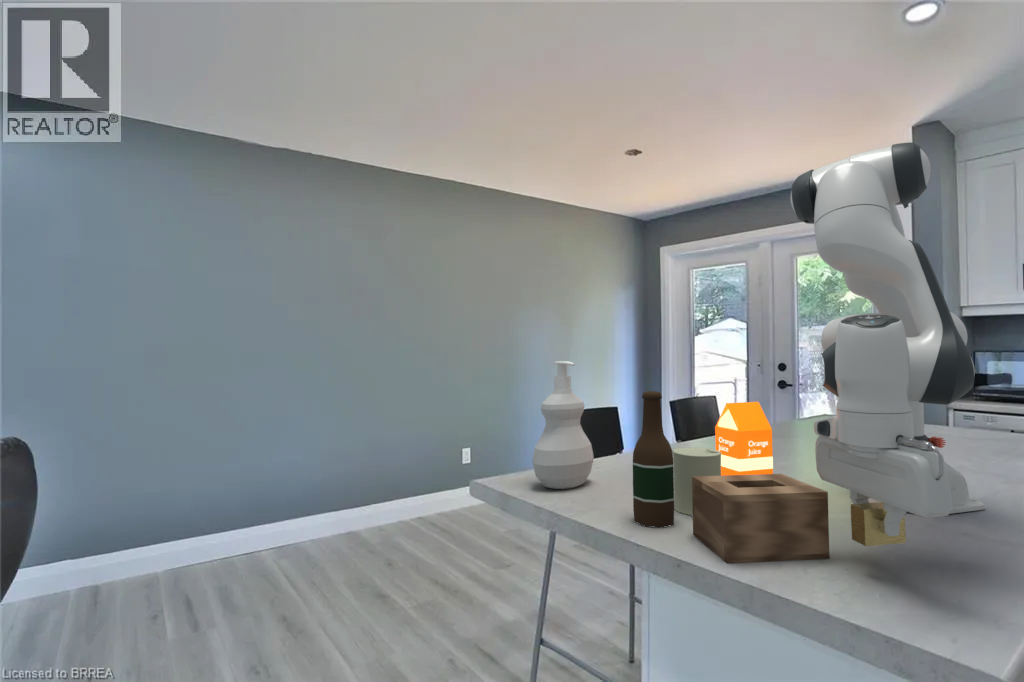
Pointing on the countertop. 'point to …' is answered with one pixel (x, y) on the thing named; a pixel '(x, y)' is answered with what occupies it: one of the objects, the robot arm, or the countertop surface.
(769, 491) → the coin box
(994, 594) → the countertop surface
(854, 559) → the countertop surface
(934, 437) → the robot arm
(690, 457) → the can
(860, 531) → the wooden block
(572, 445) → the soap bottle
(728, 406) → the orange juice
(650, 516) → the beer bottle
